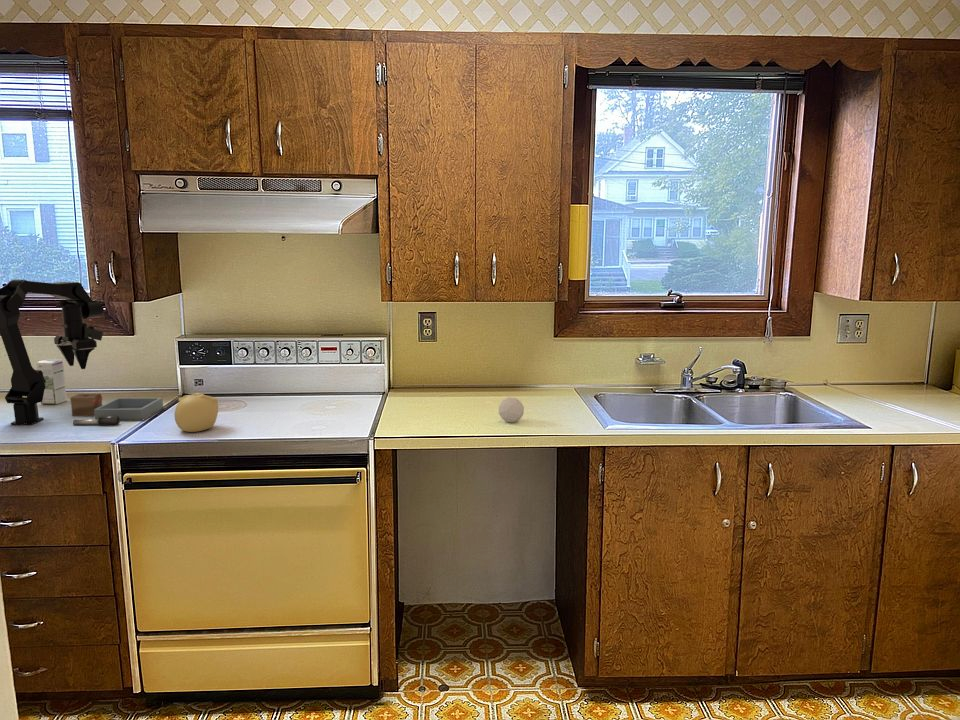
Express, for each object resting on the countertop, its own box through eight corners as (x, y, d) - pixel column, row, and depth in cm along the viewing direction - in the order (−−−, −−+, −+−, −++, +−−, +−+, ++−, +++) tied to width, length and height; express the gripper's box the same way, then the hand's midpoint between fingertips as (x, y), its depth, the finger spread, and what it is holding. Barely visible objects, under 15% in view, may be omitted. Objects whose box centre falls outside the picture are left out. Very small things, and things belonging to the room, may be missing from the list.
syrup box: (67, 400, 241) (63, 359, 238) (55, 404, 235) (51, 362, 232) (52, 400, 241) (47, 358, 239) (39, 404, 235) (35, 361, 233)
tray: (142, 420, 216) (141, 409, 216) (95, 420, 216) (93, 409, 216) (163, 408, 231) (162, 397, 230) (118, 408, 231) (117, 398, 230)
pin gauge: (119, 423, 213) (118, 415, 213) (115, 425, 211) (114, 417, 210) (76, 423, 213) (75, 415, 213) (72, 426, 210) (71, 417, 210)
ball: (517, 431, 214) (527, 414, 209) (493, 423, 213) (503, 405, 208) (519, 413, 220) (529, 397, 215) (495, 405, 219) (505, 388, 214)
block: (95, 416, 222) (92, 397, 221) (72, 416, 222) (70, 397, 221) (103, 411, 227) (101, 393, 226) (81, 411, 227) (79, 393, 226)
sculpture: (224, 423, 213) (221, 389, 211) (209, 435, 201) (206, 398, 199) (186, 423, 213) (183, 389, 211) (169, 435, 201) (166, 398, 199)
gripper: (111, 320, 230) (115, 367, 232) (87, 316, 241) (91, 361, 244) (74, 323, 221) (79, 372, 224) (51, 319, 233) (55, 365, 235)
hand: (77, 367), depth 232 cm, fingers open, 9 cm apart
